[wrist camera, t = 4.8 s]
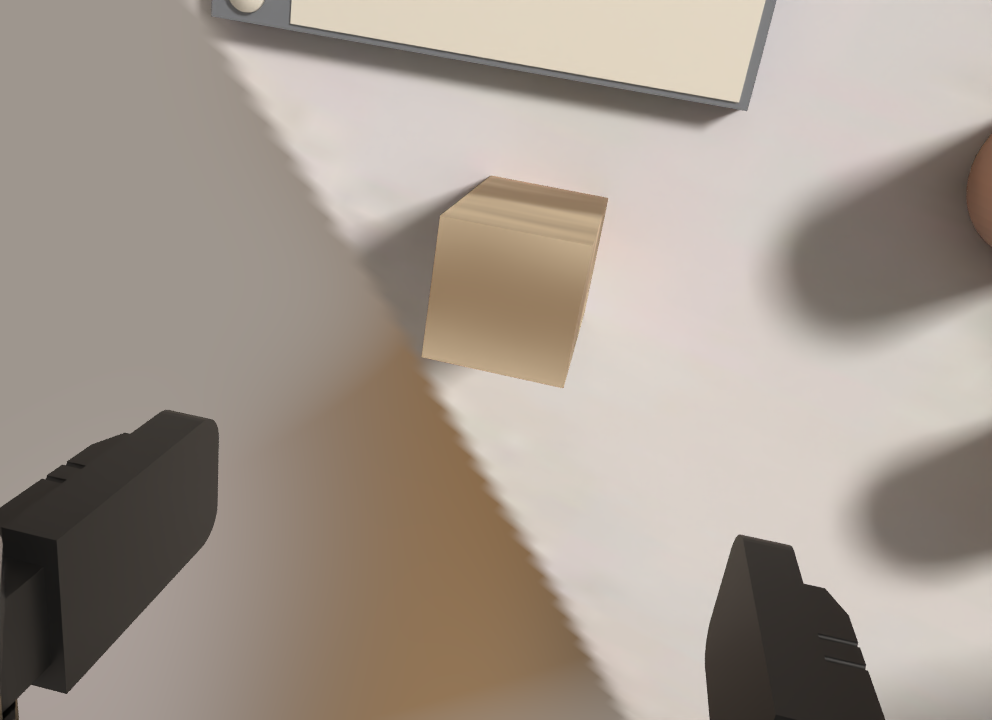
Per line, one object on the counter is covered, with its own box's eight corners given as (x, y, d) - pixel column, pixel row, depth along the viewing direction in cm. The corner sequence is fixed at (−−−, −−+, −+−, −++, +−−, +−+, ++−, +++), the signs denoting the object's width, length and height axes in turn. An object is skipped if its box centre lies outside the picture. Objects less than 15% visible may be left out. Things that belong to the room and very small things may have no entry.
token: (490, 175, 28) (439, 215, 21) (608, 198, 27) (592, 245, 21) (473, 288, 29) (421, 357, 23) (584, 311, 29) (563, 388, 22)
